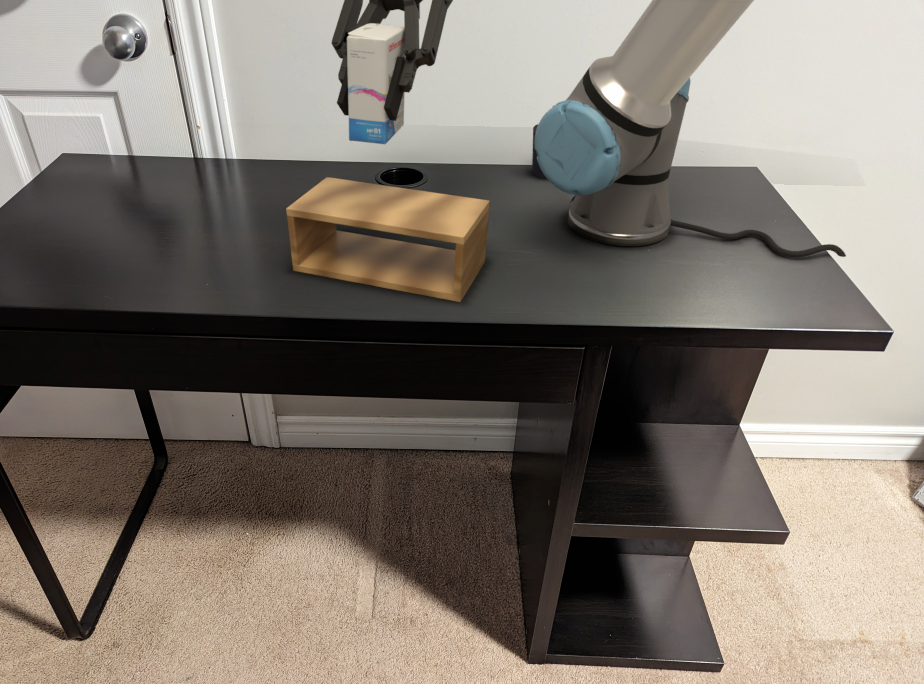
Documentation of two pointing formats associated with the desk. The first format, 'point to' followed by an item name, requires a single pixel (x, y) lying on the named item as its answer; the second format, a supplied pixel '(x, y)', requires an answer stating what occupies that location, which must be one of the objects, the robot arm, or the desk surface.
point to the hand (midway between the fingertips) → (366, 111)
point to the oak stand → (385, 258)
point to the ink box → (373, 81)
